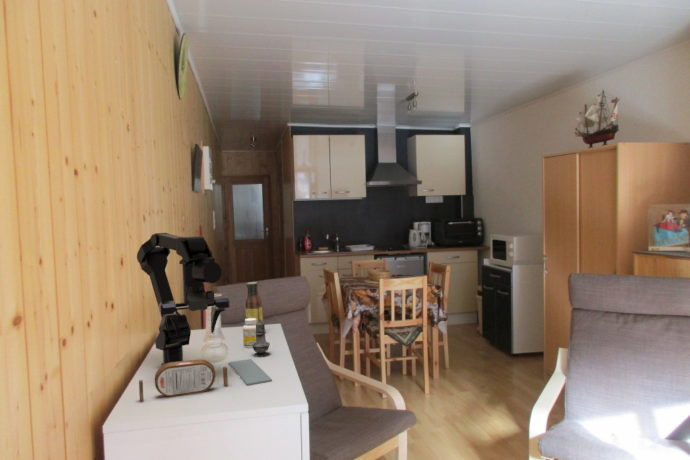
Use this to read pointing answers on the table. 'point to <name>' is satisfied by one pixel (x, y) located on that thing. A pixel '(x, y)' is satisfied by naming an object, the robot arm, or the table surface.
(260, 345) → the salt shaker
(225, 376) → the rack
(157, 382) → the tin
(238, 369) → the mat
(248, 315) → the sauce bottle
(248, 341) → the supplement bottle
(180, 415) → the table surface
